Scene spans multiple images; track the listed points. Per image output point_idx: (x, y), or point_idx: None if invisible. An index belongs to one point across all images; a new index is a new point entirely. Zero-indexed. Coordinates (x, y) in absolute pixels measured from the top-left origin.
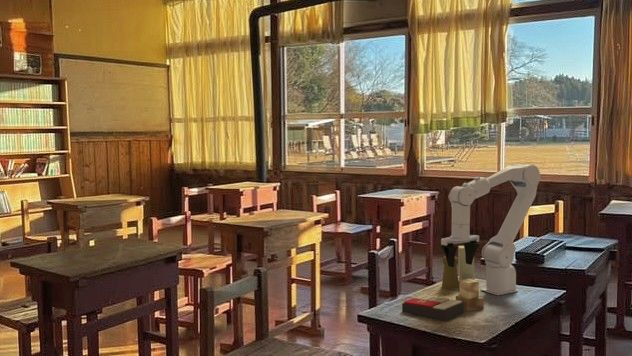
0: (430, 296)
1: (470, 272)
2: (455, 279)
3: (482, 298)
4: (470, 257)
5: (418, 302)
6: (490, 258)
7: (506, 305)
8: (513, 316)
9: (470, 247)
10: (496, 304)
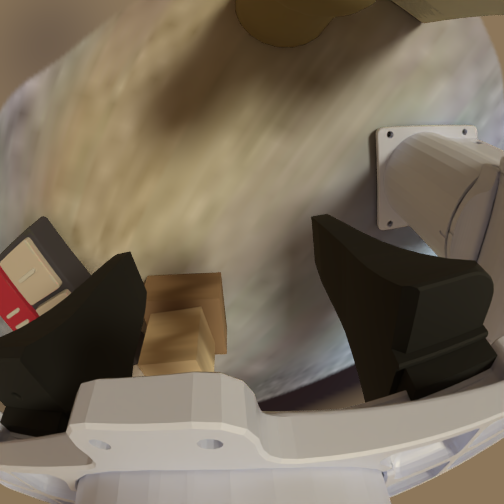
0: (46, 278)
1: (438, 6)
2: (299, 35)
3: (221, 353)
4: (333, 296)
5: (10, 318)
6: (486, 255)
7: (316, 322)
8: (261, 387)
9: (369, 364)
10: (296, 306)
